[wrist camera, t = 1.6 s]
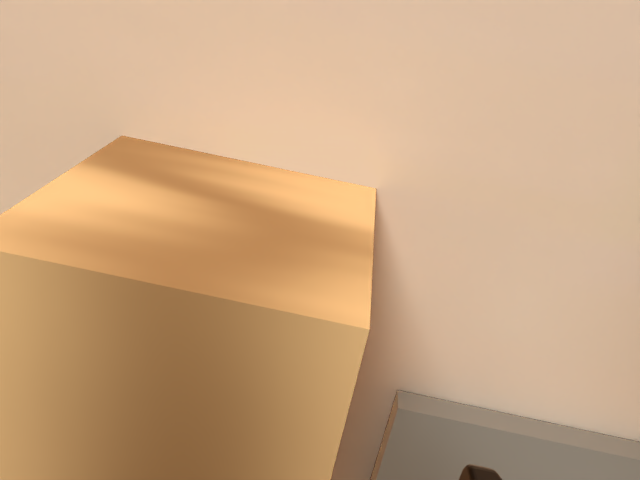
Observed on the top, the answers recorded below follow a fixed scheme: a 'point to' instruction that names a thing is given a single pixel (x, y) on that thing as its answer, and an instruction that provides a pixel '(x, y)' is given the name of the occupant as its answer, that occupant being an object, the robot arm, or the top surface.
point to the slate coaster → (494, 445)
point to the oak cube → (181, 319)
